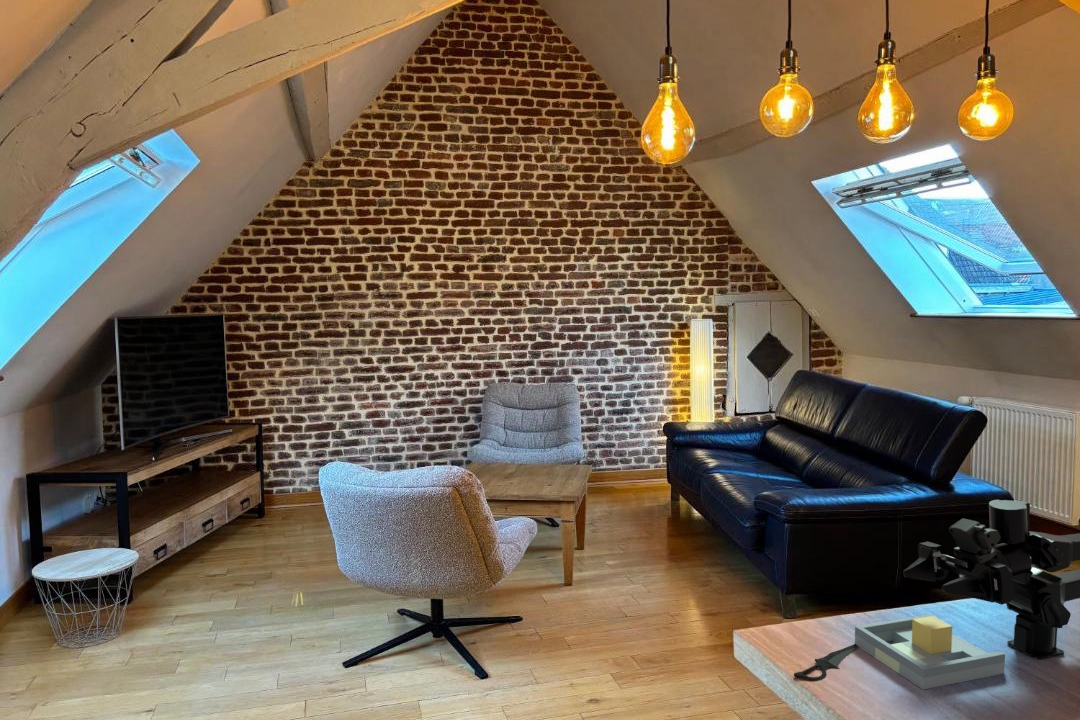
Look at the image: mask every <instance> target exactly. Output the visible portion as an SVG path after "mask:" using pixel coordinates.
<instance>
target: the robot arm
mask: <svg viewBox="0 0 1080 720" xmlns="http://www.w3.org/2000/svg"><path fill="white" fill-rule="evenodd" d="M988 510H989V511H988V513H989V515H988V516H989V528H987V526H986V525H985V524H982V523H980V522H979V521H976V520H972V519H967V518H961V519H960V520H957V521H956V522H955V523H954V524H952V525H950V527H948V531H949V533H950V534H951V535H952V538H953V539H954V542H955V544H956V547H953V554H954V556H956V557H953V556H950V555H948V554H947V549H946V548H945V547H943V545H942V544H941V545H940V544H937V543H934V542H930V541H925V542H919V543H918V544H917V550H918V551H917V552H918V559H916V560H915V561H914V562H912V563H911V564H910V565H909V566H908V567H907V568H905V569H903V573H902V574H903V577H904V578H910V579H915V580H923V581H929V582H937V581H943V580H945V579H946V578H947V577H948V575H949V572H952V573H955V574H956V575H957V576H958V578H955V579H953V580H951V581H948V582H946V583H943V584H942V586H941V588H942V589H941V590H942V592H944V593H946V594H952V595H957V596H960V597H966V598H969V599H970V598H972V599H975V600H980V601H985V602H988V603H993V604H994V603H995V604H998V605H1002V606H1003V605H1006V608H1007V610H1009V611H1012V612H1015V613H1016V615H1015V624H1014V628H1013V630H1014V631H1013V639H1011V640H1007V642H1006V643H1007V645H1009V646H1011V647H1013V648H1015V649H1016V650H1019V651H1020V652H1023V653H1024V654H1026V655H1028V656H1030V657H1031V658H1034V659H1036V660H1041V659H1047V658H1051V657H1056V656H1062V655H1064V654H1065V650H1063V649H1061V648H1058V647H1057V643H1058V642H1057V641H1058V640H1057V639H1058V629H1062V628H1063V626H1067V625H1068V624H1069V621H1070V618H1071V615H1072V613H1071V612H1070V611H1069V610H1068V609H1067V607H1066V606H1065V605H1064V604H1065V603H1066V602H1071V601H1074V600H1079V599H1080V568H1079V569H1075V570H1071V571H1065V572H1062V573H1057V572H1059V571H1063V570H1065V569H1068V568H1069V567H1070V566H1071V564H1072V563H1073V562H1077V561H1080V533H1079V532H1078V533H1072V534H1071V533H1070V534H1065V535H1057V534H1052V533H1051V534H1050V533H1045V532H1041V531H1040V532H1038V531H1031V530H1030V526H1031V525H1030V511H1031V505H1030V502H1026V501H1023V500H1010V499H1009V500H1008V499H1003V500H1001V499H993V500H991V501H989V502H988ZM998 543H999V544H998ZM1052 573H1057V574H1052Z"/></svg>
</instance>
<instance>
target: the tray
mask: <svg viewBox="0 0 1080 720" xmlns="http://www.w3.org/2000/svg"><path fill="white" fill-rule="evenodd" d="M929 616H934V615H933V614H931V613H927V614H920V615H915V616H908V617H904V618H896V619H891V620H884V621H879V622H872V623H868V624H862V625H860V624H859V625H855V627H854V644H856V645H857V646H858V647H860V648H859V649H861V650H862V651H864V652H866V653H867V654H869V655H870V656H872V657H873V658H875V659H876V660H878V661H879V662H880V663H883V665H886V666H887V667H888V668H890V669H891V670H892V671H894V672H896V673H897V674H899V675H900V676H902V677H904V678H905V679H907V680H908V681H910V682H911V683H912V684H914V685H916V686H917V687H918V688H920V689H922V690H926V689H927V690H928V689H933V688H937V687H942V686H946V685H947V686H949V685H952V684H957V683H962V682H963V683H964V682H967V681H973V680H977V679H983V678H988V677H993V676H994V677H995V676H998V675H1004V674H1005V666H1006V665H1005V663H1006V661H1005V660H1006V653H1004V652H1002V651H1000V650H999V651H994V652H990V653H988V652H986V651H985V650H983V649H981V648H979V647H977V646H976V645H974V644H972V643H970V642H968V641H966V640H965V639H963V638H961V637H959V636H957V635H955V634H954V633H952V647H951V651H946V652H941V653H935V654H929V653H928V652H926V651H924V650H923V649H921V648H919V647H917V646H916V645H914V644H912V621H913V619H917V618H923V617H929ZM888 642H893V643H891V644H890V643H888Z"/></svg>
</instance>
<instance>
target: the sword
mask: <svg viewBox="0 0 1080 720" xmlns="http://www.w3.org/2000/svg"><path fill="white" fill-rule="evenodd" d="M859 649H861V648H860V647H858V646H857V645H856V644H855V643H854V644H851V645H849V646H846V647H844V648H841V649H838V650H835V651H832V652H830V653H828V654H827V655H825V656H823V657H821V658H814V662H815V664H814V665H812V666H810V667H808V668H806V669H804V670H802V671H797V672H794V674H793V677H794V678H795V679H802V680H806V681H810V682H818V681H823V680H824V679H825V678H826V677H827V670H830V669H831V670H834V669H835V670H841V669H840V668H839V665H840V664H841V662H842V661H844V659H846V658H847V657H848V656H849V655H851V654H852V653H854V652H855V651H858V650H859ZM846 656H847V657H846ZM815 669H819V670H820V671H821V675H819V676H808V675H807V674H809V673H810V672H811V671H813V670H815Z"/></svg>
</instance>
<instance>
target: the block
mask: <svg viewBox="0 0 1080 720" xmlns="http://www.w3.org/2000/svg"><path fill="white" fill-rule="evenodd" d="M952 634H953V625H951V624H949V623H948V622H945V621H944V620H942V619H940V618H937V617H936V616H934V615H933V616H929V617H923V618H917V619H913V621H912V644H914V645H916V646H917V647H919V648H921V649H923V650H924V651H926V652H928V653H929V654H935V653H941V652H946V651H951V647H952Z"/></svg>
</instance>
